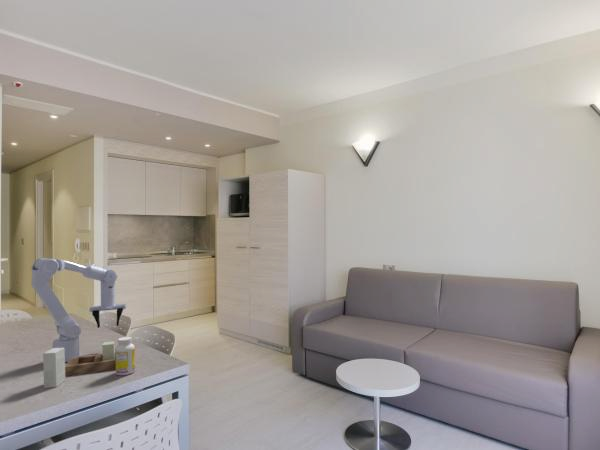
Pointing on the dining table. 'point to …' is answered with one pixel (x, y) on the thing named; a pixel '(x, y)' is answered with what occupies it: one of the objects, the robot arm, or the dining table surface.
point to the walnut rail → (88, 364)
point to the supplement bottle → (125, 356)
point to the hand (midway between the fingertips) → (108, 326)
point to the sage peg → (108, 351)
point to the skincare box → (54, 367)
